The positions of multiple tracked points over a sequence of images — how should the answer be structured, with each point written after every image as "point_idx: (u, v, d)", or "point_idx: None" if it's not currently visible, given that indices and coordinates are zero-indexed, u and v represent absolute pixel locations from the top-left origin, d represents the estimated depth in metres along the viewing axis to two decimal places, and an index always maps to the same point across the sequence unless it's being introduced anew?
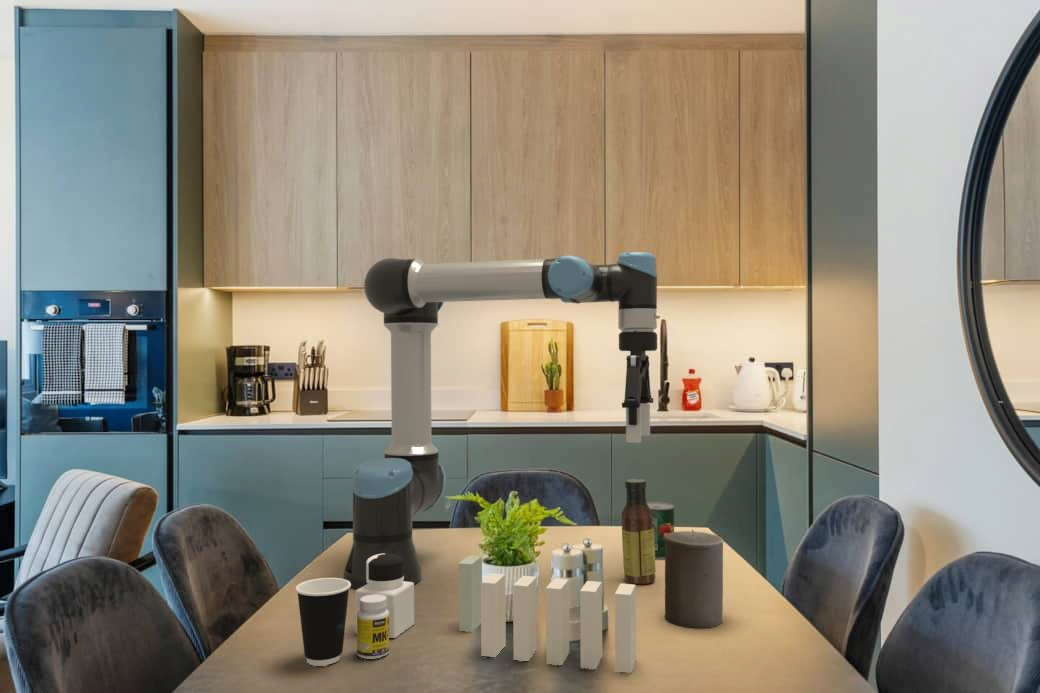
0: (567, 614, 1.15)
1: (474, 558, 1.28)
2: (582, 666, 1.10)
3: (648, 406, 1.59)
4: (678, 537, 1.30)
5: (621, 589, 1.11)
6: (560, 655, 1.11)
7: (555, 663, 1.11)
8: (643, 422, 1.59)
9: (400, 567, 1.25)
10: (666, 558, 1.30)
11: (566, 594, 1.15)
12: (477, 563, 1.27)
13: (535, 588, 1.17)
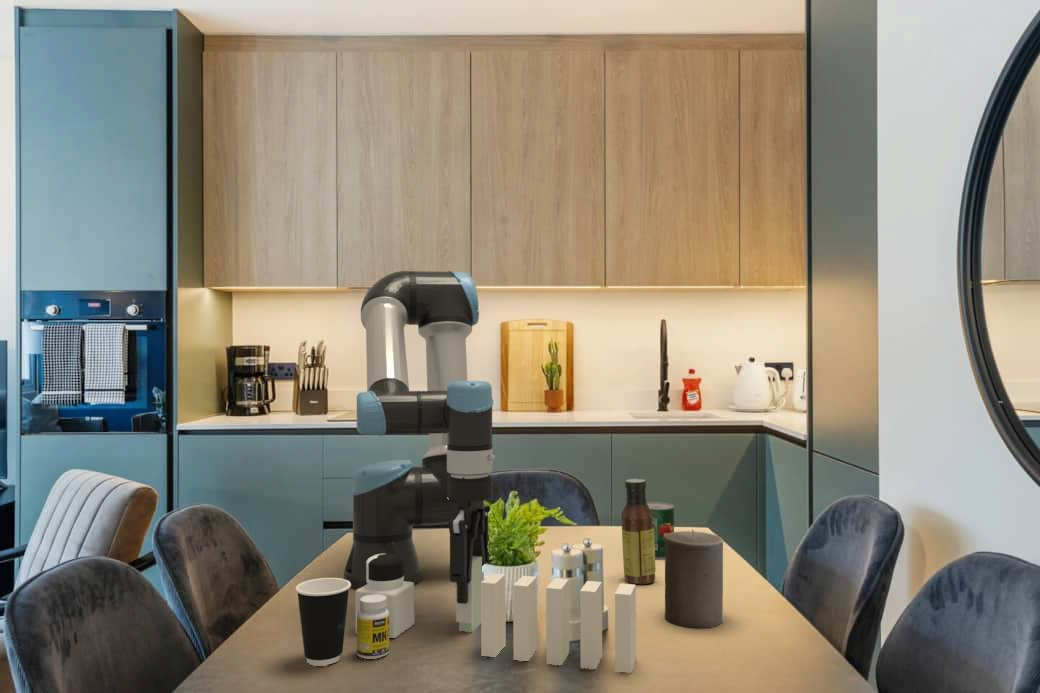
0: (567, 614, 1.15)
1: (474, 558, 1.28)
2: (582, 666, 1.10)
3: (482, 576, 1.29)
4: (678, 537, 1.30)
5: (621, 589, 1.11)
6: (560, 655, 1.11)
7: (555, 663, 1.11)
8: None
9: (400, 567, 1.25)
10: (666, 558, 1.30)
11: (566, 594, 1.15)
12: (477, 563, 1.27)
13: (535, 588, 1.17)
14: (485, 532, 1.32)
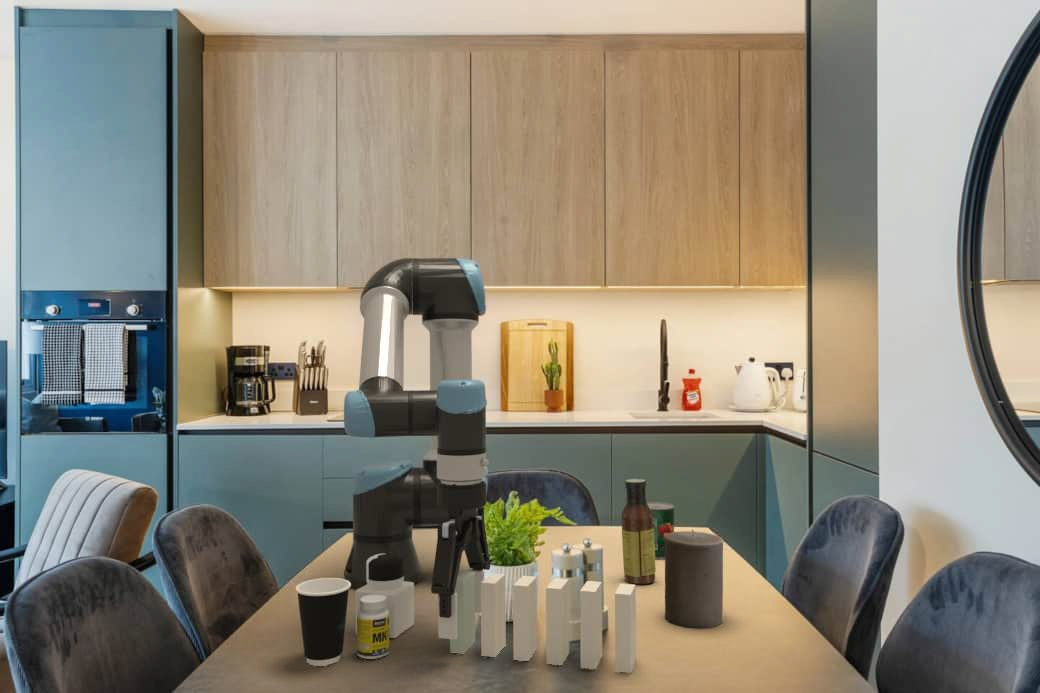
0: (567, 614, 1.15)
1: (466, 574, 1.19)
2: (582, 666, 1.10)
3: (481, 575, 1.23)
4: (678, 537, 1.30)
5: (621, 589, 1.11)
6: (560, 655, 1.11)
7: (555, 663, 1.11)
8: (475, 596, 1.23)
9: (400, 567, 1.25)
10: (666, 558, 1.30)
11: (566, 594, 1.15)
12: (469, 580, 1.18)
13: (535, 588, 1.17)
14: (481, 534, 1.24)
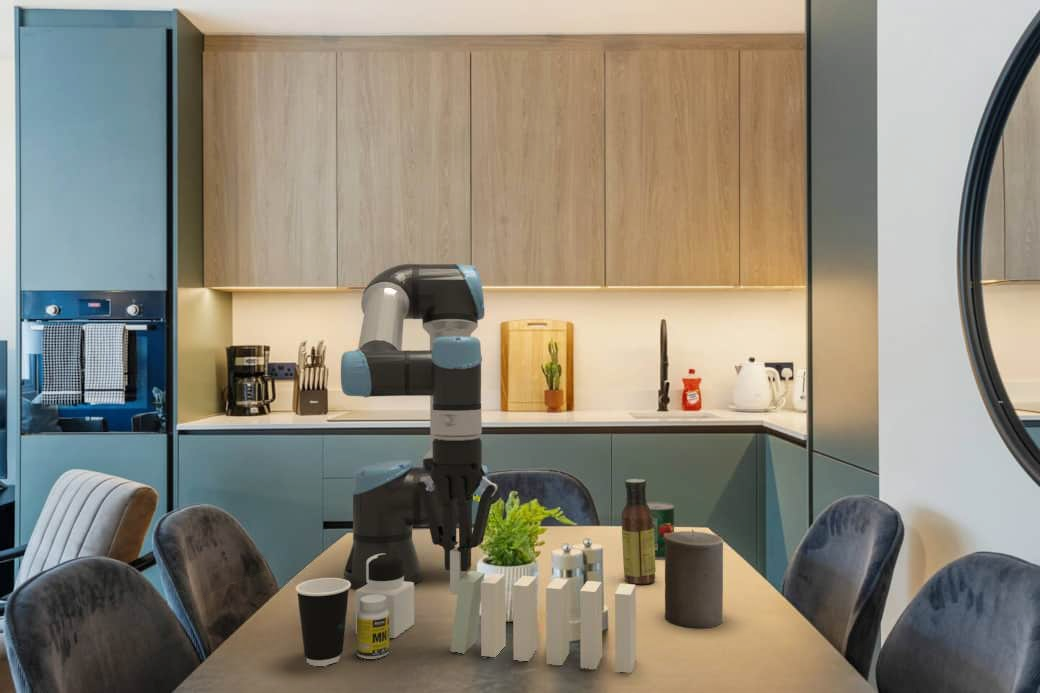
0: (567, 614, 1.15)
1: (476, 575, 1.19)
2: (582, 666, 1.10)
3: None
4: (678, 537, 1.30)
5: (621, 589, 1.11)
6: (560, 655, 1.11)
7: (555, 663, 1.11)
8: None
9: (400, 567, 1.25)
10: (666, 558, 1.30)
11: (566, 594, 1.15)
12: (478, 581, 1.18)
13: (535, 588, 1.17)
14: None
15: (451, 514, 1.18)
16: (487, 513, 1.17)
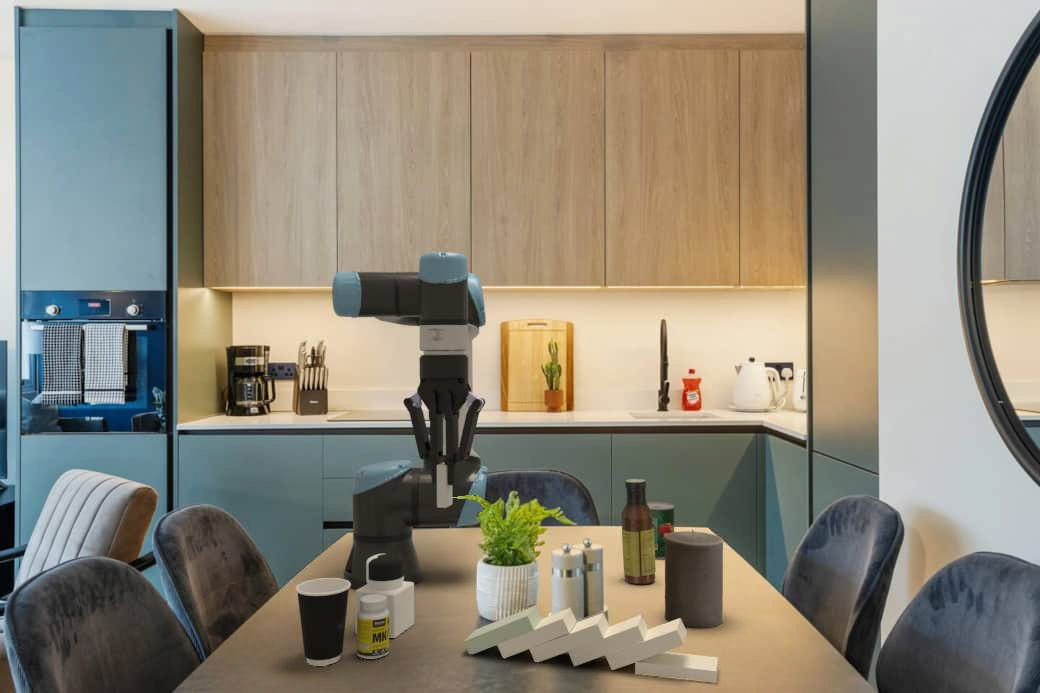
0: None
1: (537, 617, 1.16)
2: (607, 656, 1.09)
3: None
4: (678, 537, 1.30)
5: None
6: (583, 662, 1.10)
7: (573, 659, 1.11)
8: None
9: (400, 567, 1.25)
10: (666, 558, 1.30)
11: None
12: None
13: None
14: (464, 424, 1.18)
15: (438, 429, 1.19)
16: (474, 428, 1.19)
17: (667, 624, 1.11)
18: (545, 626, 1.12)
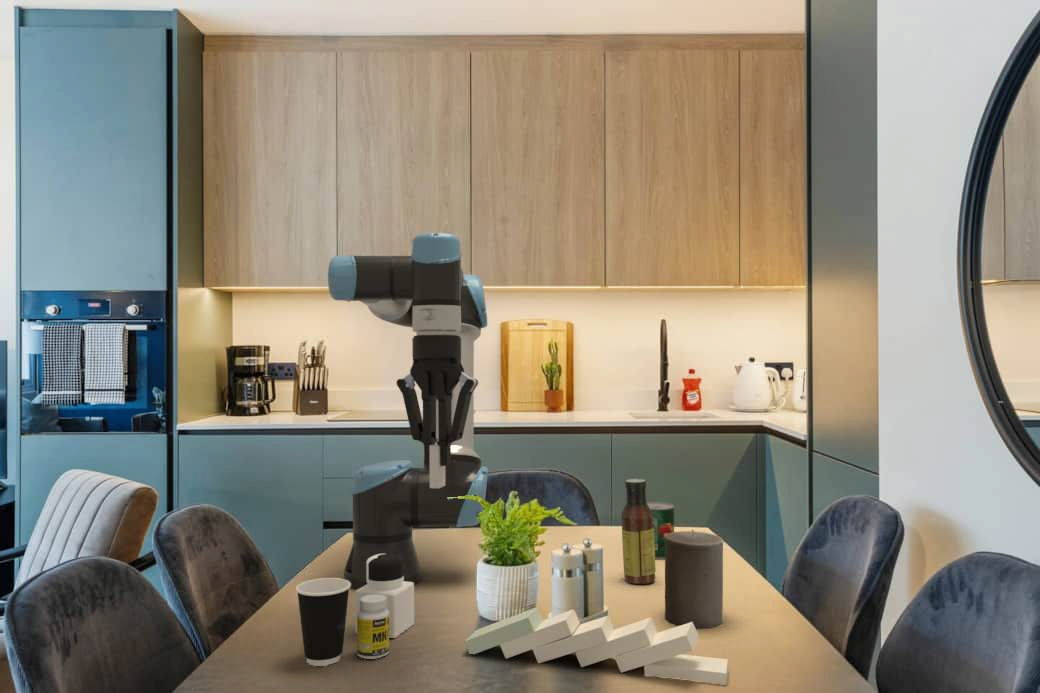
0: None
1: (538, 619, 1.15)
2: (617, 658, 1.08)
3: None
4: (678, 537, 1.30)
5: None
6: (590, 663, 1.10)
7: (580, 660, 1.11)
8: None
9: (400, 567, 1.25)
10: (666, 558, 1.30)
11: None
12: None
13: None
14: (457, 404, 1.18)
15: (431, 410, 1.19)
16: (466, 408, 1.19)
17: (678, 628, 1.09)
18: (548, 627, 1.12)
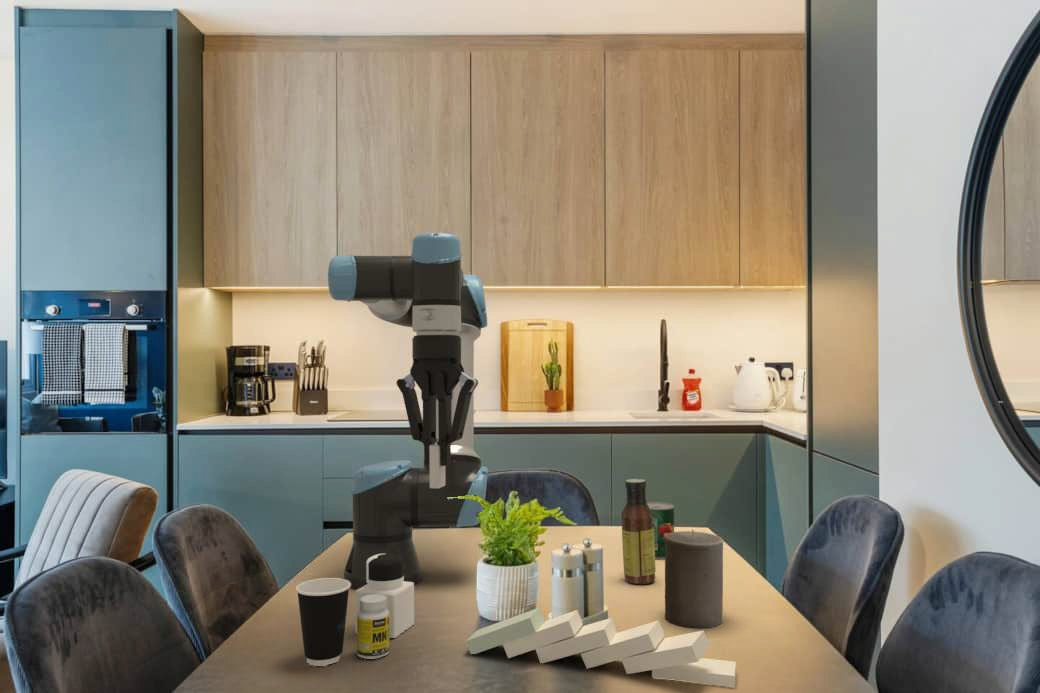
0: None
1: (540, 619, 1.15)
2: (623, 660, 1.07)
3: None
4: (678, 537, 1.30)
5: None
6: (595, 665, 1.09)
7: (585, 662, 1.10)
8: None
9: (400, 567, 1.25)
10: (666, 558, 1.30)
11: None
12: None
13: None
14: (457, 404, 1.18)
15: (431, 410, 1.19)
16: (466, 408, 1.19)
17: (688, 635, 1.06)
18: (551, 627, 1.11)
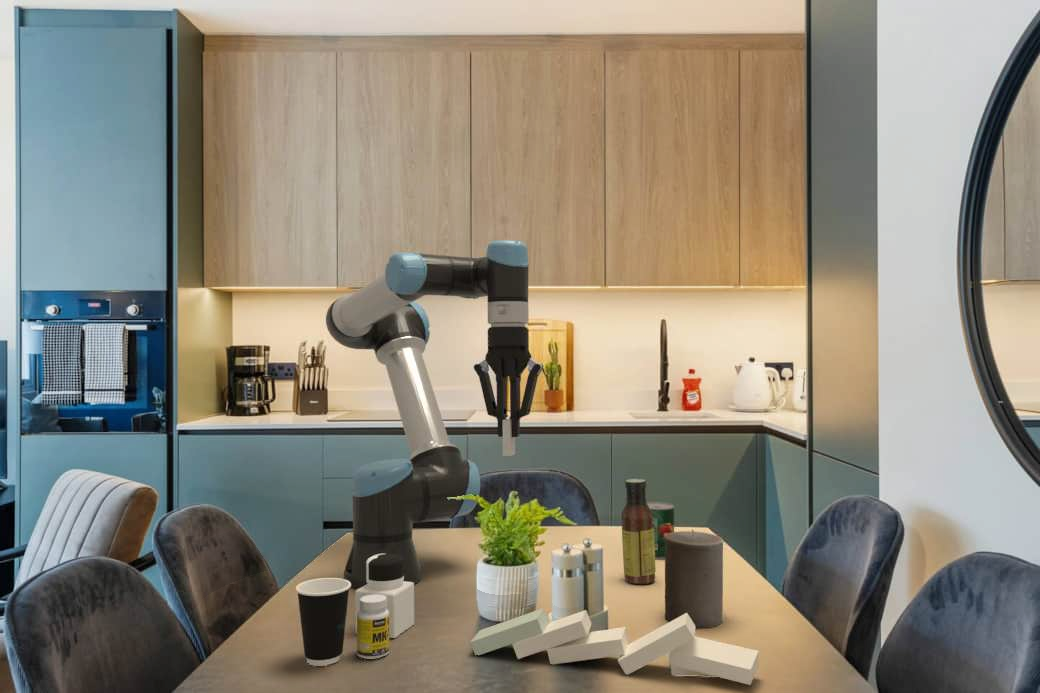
0: None
1: (545, 620, 1.16)
2: (671, 652, 1.07)
3: None
4: (678, 537, 1.30)
5: None
6: (634, 669, 1.07)
7: (624, 668, 1.08)
8: None
9: (400, 567, 1.25)
10: (666, 558, 1.30)
11: None
12: None
13: None
14: (526, 385, 1.40)
15: (503, 390, 1.41)
16: (533, 388, 1.40)
17: (742, 651, 1.06)
18: (563, 628, 1.11)
